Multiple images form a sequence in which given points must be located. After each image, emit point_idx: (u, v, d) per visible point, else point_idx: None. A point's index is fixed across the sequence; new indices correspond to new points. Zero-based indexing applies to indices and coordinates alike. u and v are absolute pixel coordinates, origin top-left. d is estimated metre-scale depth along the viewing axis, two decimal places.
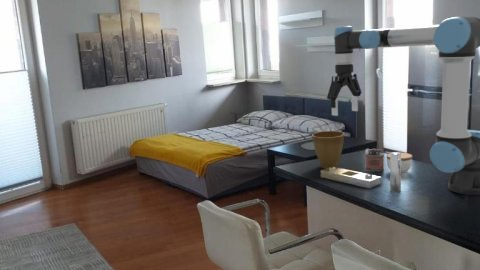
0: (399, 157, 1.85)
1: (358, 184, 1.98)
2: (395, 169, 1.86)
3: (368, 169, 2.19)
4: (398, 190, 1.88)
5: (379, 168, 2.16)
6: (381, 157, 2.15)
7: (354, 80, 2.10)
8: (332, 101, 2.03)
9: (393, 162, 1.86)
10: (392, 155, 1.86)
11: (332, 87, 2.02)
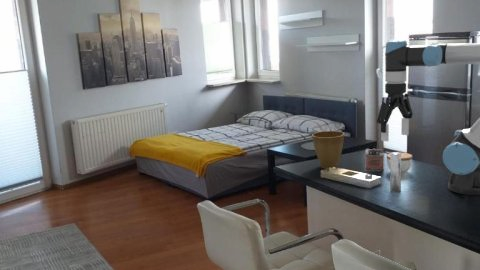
0: (399, 157, 1.85)
1: (358, 184, 1.98)
2: (395, 169, 1.86)
3: (368, 169, 2.19)
4: (398, 190, 1.88)
5: (379, 168, 2.16)
6: (381, 157, 2.15)
7: (405, 101, 1.86)
8: (382, 125, 1.79)
9: (393, 162, 1.86)
10: (392, 155, 1.86)
11: (383, 109, 1.78)
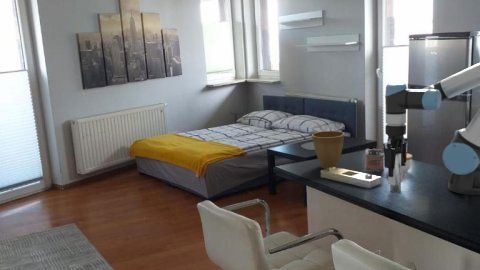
0: (399, 157, 1.85)
1: (358, 184, 1.98)
2: None
3: (368, 169, 2.19)
4: (398, 190, 1.88)
5: (379, 168, 2.16)
6: (381, 157, 2.15)
7: (403, 145, 1.89)
8: (390, 170, 1.85)
9: None
10: None
11: (387, 155, 1.83)
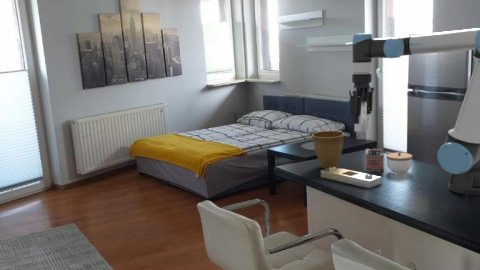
0: (365, 105, 1.93)
1: (358, 184, 1.98)
2: None
3: (368, 169, 2.19)
4: (363, 137, 1.96)
5: (379, 168, 2.16)
6: (381, 157, 2.15)
7: (370, 94, 1.97)
8: (355, 117, 1.94)
9: None
10: None
11: (353, 102, 1.91)
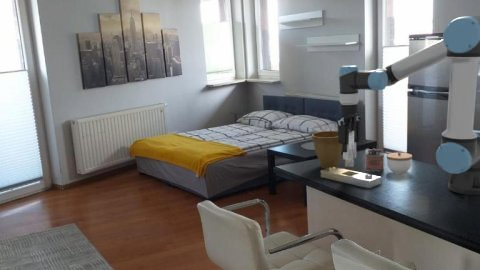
0: (352, 134, 2.01)
1: (358, 184, 1.98)
2: None
3: (368, 169, 2.19)
4: (352, 165, 2.03)
5: (379, 168, 2.16)
6: (381, 157, 2.15)
7: (357, 123, 2.04)
8: (344, 145, 2.01)
9: None
10: None
11: (340, 132, 1.99)
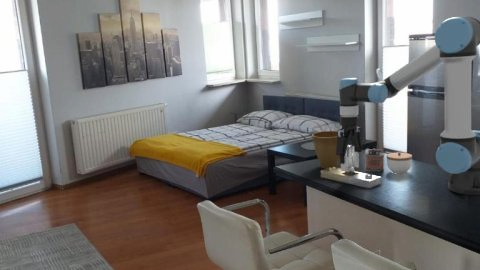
0: (352, 149, 2.02)
1: (358, 184, 1.98)
2: (348, 160, 2.03)
3: (368, 169, 2.19)
4: None
5: (379, 168, 2.16)
6: (381, 157, 2.15)
7: (358, 133, 2.06)
8: (341, 157, 2.01)
9: (347, 154, 2.03)
10: None
11: (339, 143, 1.99)
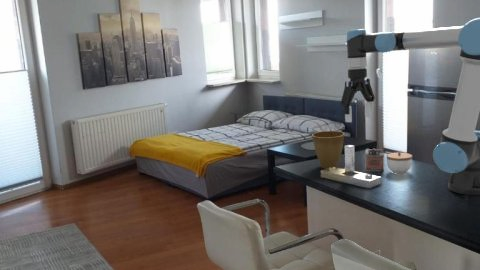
0: (352, 149, 2.02)
1: (358, 184, 1.98)
2: (348, 160, 2.03)
3: (368, 169, 2.19)
4: None
5: (379, 168, 2.16)
6: (381, 157, 2.15)
7: (367, 85, 2.02)
8: (346, 107, 1.95)
9: (347, 154, 2.03)
10: (346, 147, 2.03)
11: (346, 93, 1.94)
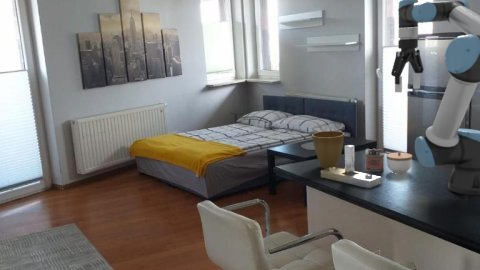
0: (352, 149, 2.02)
1: (358, 184, 1.98)
2: (348, 160, 2.03)
3: (368, 169, 2.19)
4: None
5: (379, 168, 2.16)
6: (381, 157, 2.15)
7: (417, 56, 2.02)
8: (396, 77, 1.95)
9: (347, 154, 2.03)
10: (346, 147, 2.03)
11: (397, 62, 1.94)
